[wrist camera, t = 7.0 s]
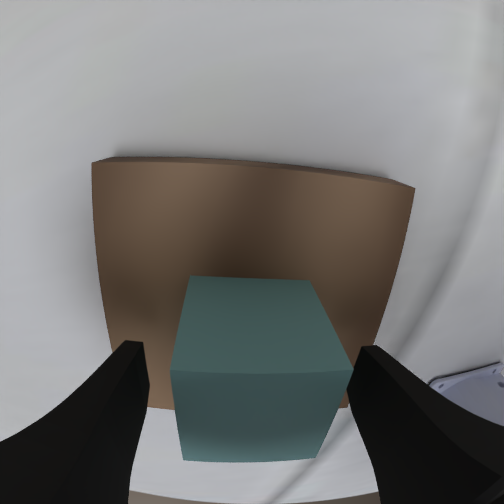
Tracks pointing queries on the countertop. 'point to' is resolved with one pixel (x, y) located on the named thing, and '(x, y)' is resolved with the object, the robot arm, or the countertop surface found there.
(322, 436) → the teal block
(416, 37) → the countertop surface
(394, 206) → the walnut plinth
